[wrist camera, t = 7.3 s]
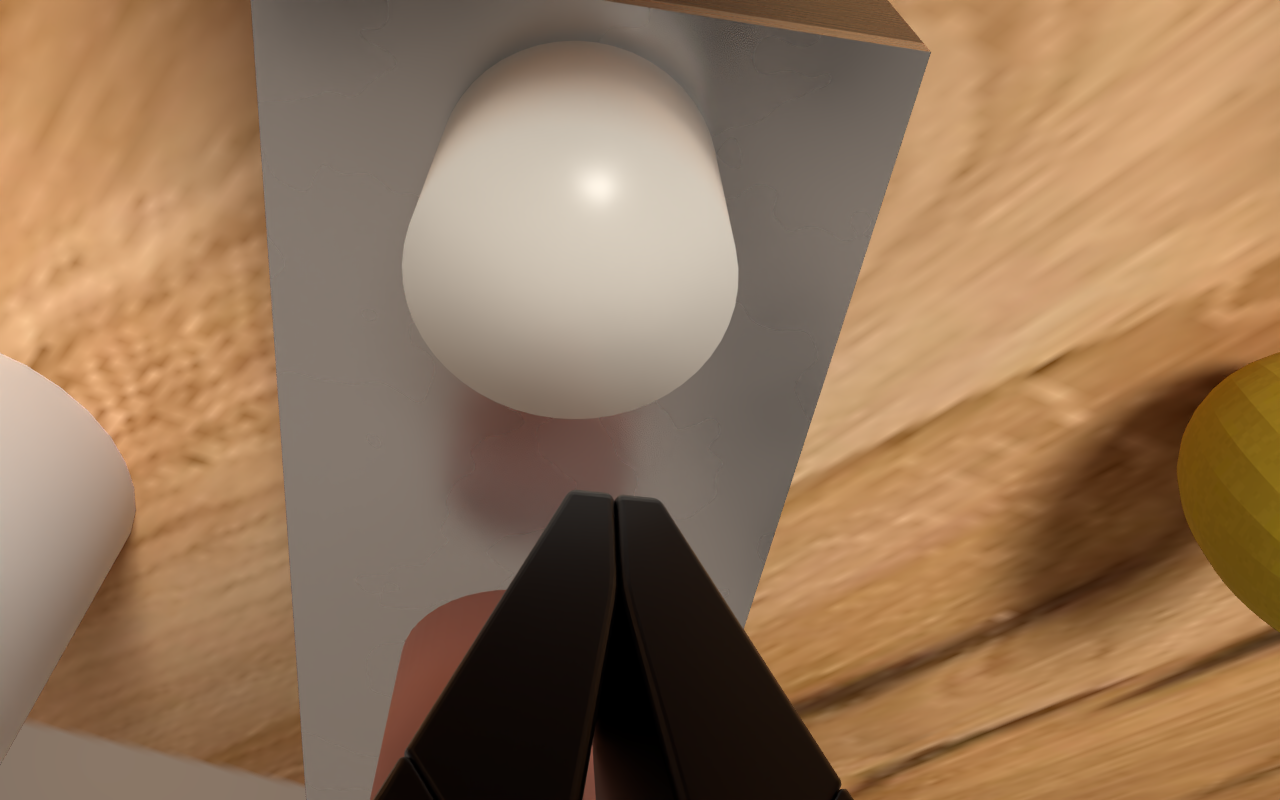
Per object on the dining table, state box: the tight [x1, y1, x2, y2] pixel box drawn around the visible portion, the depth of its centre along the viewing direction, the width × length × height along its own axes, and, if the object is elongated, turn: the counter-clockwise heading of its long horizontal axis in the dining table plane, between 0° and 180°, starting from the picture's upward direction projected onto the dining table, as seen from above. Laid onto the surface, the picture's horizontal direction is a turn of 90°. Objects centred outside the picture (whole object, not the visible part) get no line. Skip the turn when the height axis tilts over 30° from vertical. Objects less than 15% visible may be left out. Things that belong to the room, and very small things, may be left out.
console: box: [251, 0, 931, 800], centre depth 21 cm, size 21×9×5 cm, turn 171°
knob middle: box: [370, 590, 596, 800], centre depth 16 cm, size 4×4×3 cm
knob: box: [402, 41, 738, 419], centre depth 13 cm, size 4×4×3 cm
